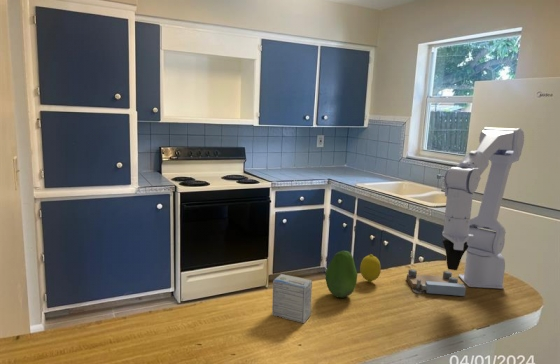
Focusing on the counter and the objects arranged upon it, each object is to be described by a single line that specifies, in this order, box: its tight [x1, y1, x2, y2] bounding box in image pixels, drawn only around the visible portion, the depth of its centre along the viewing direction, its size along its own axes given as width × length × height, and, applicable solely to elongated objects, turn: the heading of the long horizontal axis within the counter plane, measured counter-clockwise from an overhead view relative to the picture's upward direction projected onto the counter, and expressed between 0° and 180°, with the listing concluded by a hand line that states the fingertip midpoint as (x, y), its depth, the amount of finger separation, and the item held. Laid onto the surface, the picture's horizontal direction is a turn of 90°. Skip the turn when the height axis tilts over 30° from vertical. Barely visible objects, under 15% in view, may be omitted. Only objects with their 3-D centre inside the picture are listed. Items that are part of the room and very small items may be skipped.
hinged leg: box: [421, 281, 466, 297], centre depth 106 cm, size 11×2×2 cm, turn 83°
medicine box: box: [271, 273, 313, 324], centre depth 91 cm, size 8×4×9 cm, turn 65°
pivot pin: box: [412, 279, 424, 295], centre depth 106 cm, size 3×3×3 cm
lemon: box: [359, 253, 382, 283], centre depth 111 cm, size 6×6×8 cm
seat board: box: [406, 268, 458, 290], centre depth 111 cm, size 12×7×3 cm, turn 86°
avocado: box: [325, 250, 358, 299], centre depth 101 cm, size 8×8×12 cm
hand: (452, 268), depth 101 cm, fingers closed
